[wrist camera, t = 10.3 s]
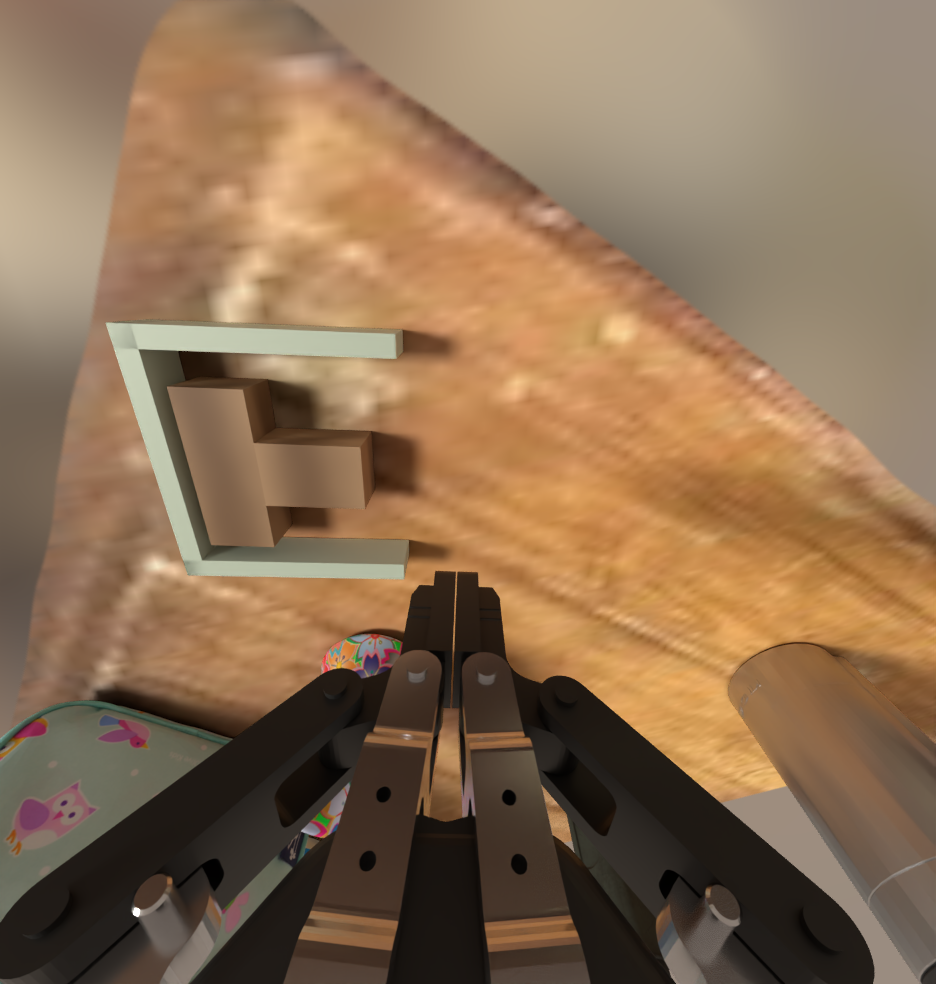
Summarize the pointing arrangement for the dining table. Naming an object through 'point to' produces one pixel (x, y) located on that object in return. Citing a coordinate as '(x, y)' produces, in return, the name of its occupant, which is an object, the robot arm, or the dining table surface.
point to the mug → (366, 660)
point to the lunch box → (100, 793)
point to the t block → (263, 461)
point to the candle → (618, 891)
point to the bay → (147, 374)
